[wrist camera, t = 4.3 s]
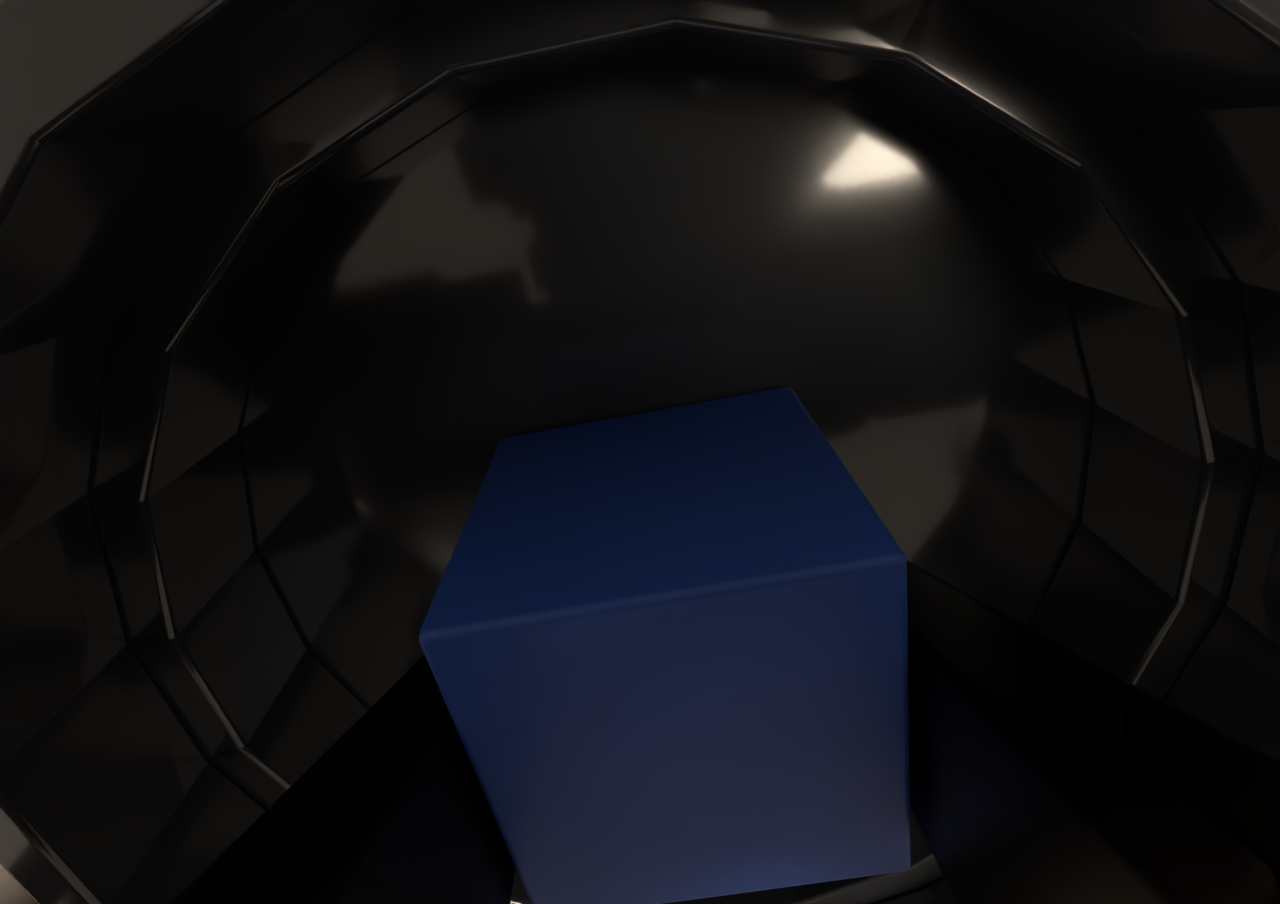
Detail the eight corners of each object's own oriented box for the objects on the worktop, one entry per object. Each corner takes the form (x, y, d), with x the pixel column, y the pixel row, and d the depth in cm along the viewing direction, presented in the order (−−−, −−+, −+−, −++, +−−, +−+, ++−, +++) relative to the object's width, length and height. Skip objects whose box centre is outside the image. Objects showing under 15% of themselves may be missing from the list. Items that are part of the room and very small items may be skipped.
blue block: (813, 618, 10) (914, 874, 7) (566, 658, 11) (536, 924, 7) (791, 383, 9) (911, 557, 5) (498, 435, 9) (412, 637, 5)
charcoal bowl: (1085, 759, 13) (1302, 1048, 9) (387, 859, 14) (286, 1164, 10) (1231, -188, 7) (2161, -694, 3) (-38, 97, 8) (-798, 46, 4)
